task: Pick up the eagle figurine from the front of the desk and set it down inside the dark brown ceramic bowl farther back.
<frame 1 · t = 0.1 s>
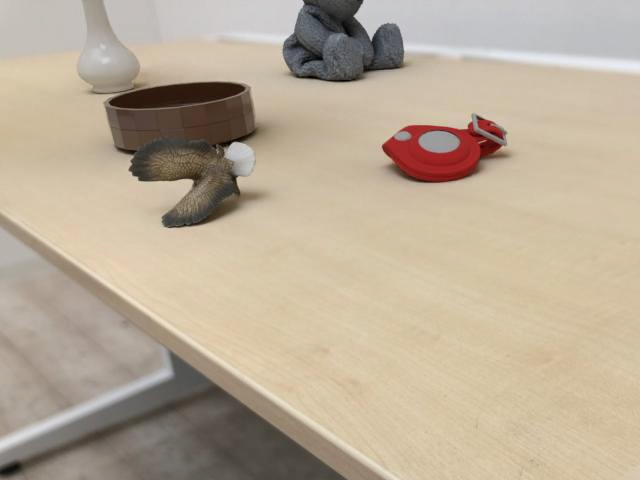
bowl: (187, 138, 94), on the table
flower vase: (116, 91, 127), on the table
koala plush: (337, 73, 131), on the table
tracker holder: (451, 168, 77), on the table
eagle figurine: (204, 210, 70), on the table
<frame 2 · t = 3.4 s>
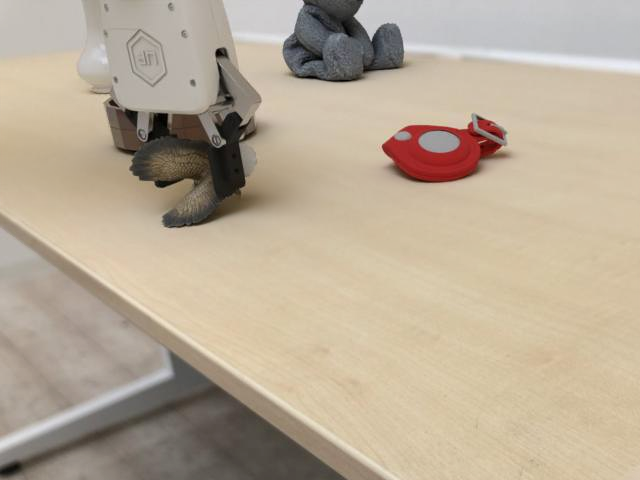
hand: (200, 185, 69), 2 cm above the table, tool pointing down, fingers closed on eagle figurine, 6 cm apart
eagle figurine: (205, 210, 70), on the table, touching gripper
everything else where it was.
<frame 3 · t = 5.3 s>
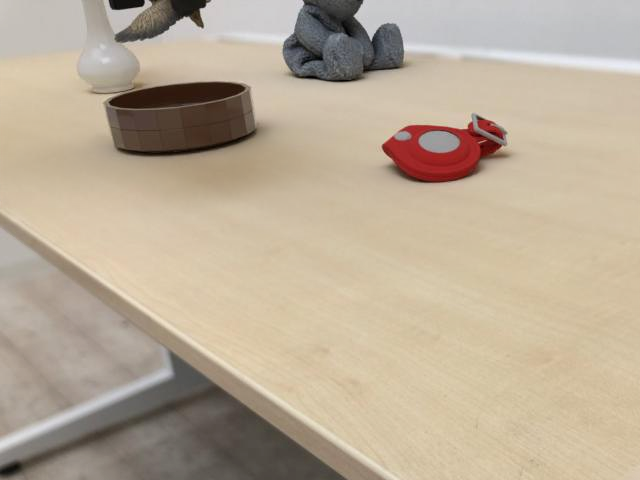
hand: (158, 6, 64), 16 cm above the table, tool pointing down, fingers closed on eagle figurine, 6 cm apart
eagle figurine: (163, 37, 65), point 14 cm above the table, touching gripper
everything else where it was.
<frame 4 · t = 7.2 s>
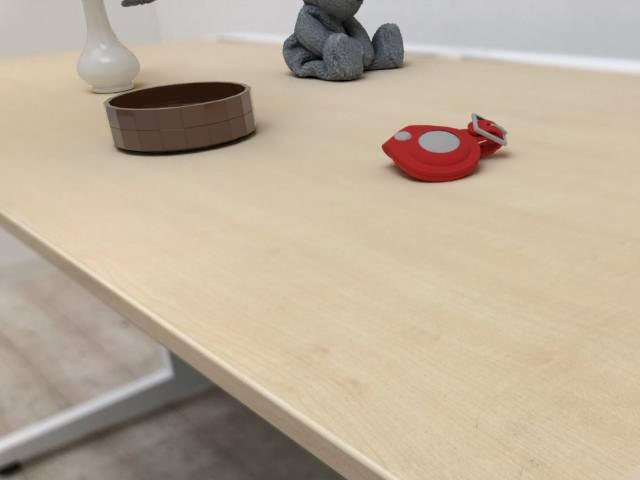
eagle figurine: (158, 4, 84), point 15 cm above the table, touching gripper
everything else where it was.
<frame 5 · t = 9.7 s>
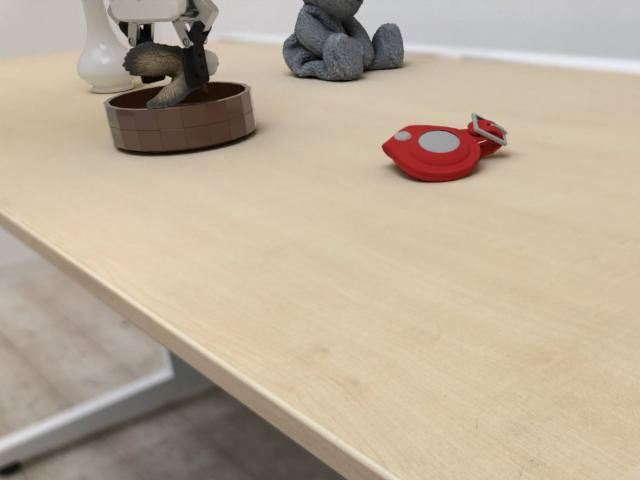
hand: (175, 81, 91), 6 cm above the table, tool pointing down, fingers closed on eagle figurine, 6 cm apart
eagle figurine: (180, 101, 92), point 4 cm above the table, touching gripper
everything else where it was.
when the fingers open (3 cm above the table, at t = 11.3 s): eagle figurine stays where it is, resting on bowl.
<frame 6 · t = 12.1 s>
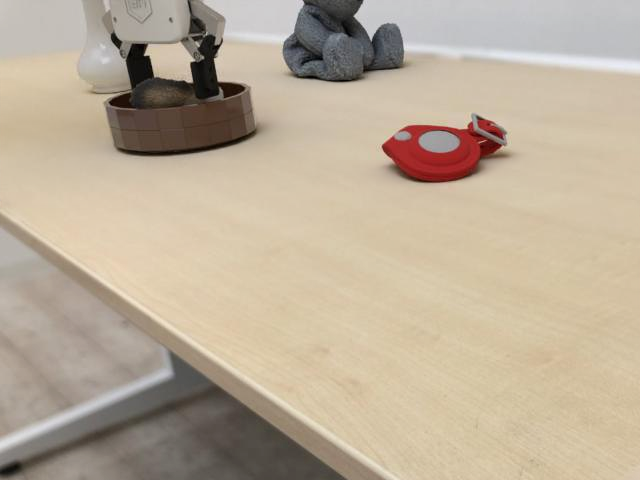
hand: (176, 95, 92), 5 cm above the table, tool pointing down, fingers open, 9 cm apart
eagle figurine: (185, 134, 94), resting on bowl
everything else where it was.
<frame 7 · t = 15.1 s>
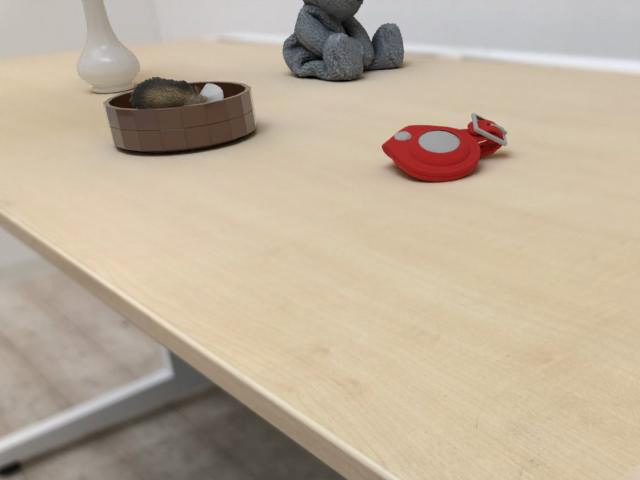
nothing on the table moved.
at the end: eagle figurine inside the target area in the bowl (0.1 cm from its centre), point 0.4 cm above the bowl's base; the gripper is holding nothing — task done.
